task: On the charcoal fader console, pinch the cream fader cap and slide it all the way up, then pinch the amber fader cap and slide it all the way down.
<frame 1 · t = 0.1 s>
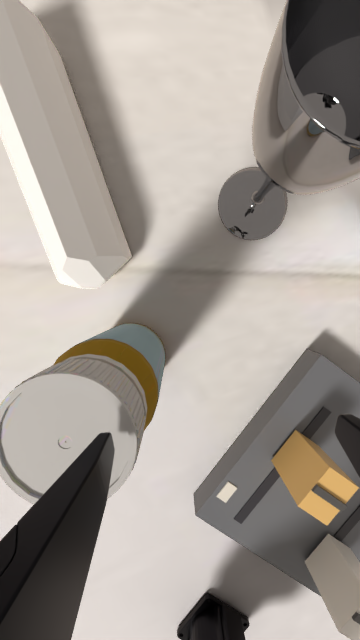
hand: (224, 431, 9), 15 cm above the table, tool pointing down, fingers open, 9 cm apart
crystal: (66, 177, 23), on the table
wine glass: (252, 205, 23), on the table
fader b: (310, 473, 20), point 5 cm above the table, slide at 8.0 cm
bottle: (133, 354, 24), on the table
fader a: (345, 586, 21), point 5 cm above the table, slide at 1.0 cm
console: (310, 466, 26), on the table
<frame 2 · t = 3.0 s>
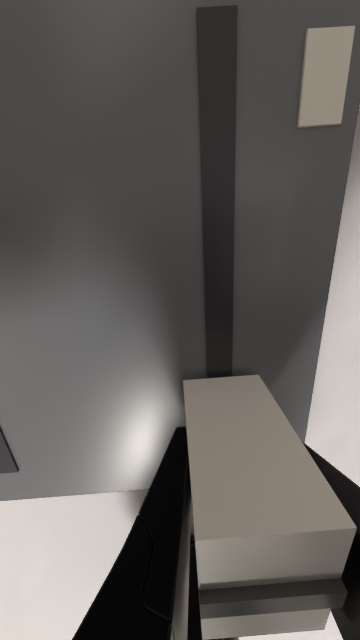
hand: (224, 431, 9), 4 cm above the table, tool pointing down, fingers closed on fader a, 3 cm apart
fader a: (238, 479, 7), point 5 cm above the table, slide at 1.0 cm, touching gripper
console: (97, 274, 10), on the table
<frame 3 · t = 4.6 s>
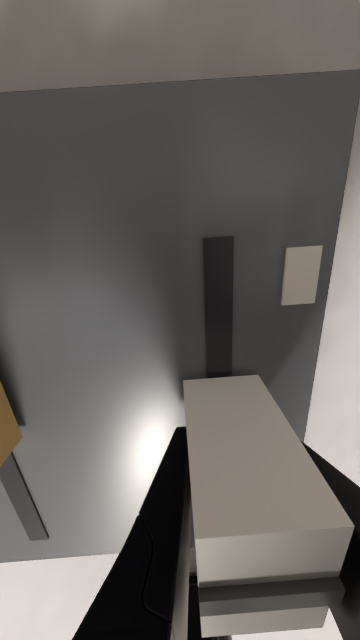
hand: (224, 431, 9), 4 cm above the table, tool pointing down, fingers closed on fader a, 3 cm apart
fader a: (237, 478, 7), point 5 cm above the table, slide at 6.3 cm, touching gripper
console: (116, 374, 12), on the table
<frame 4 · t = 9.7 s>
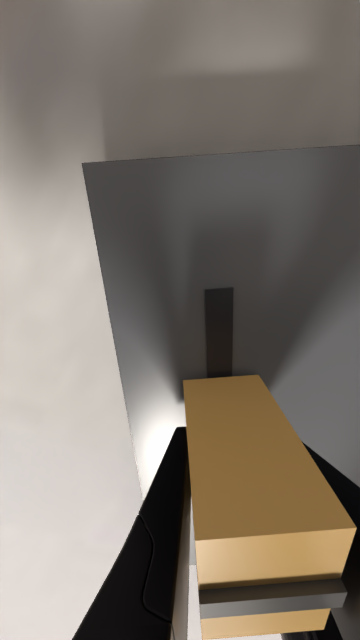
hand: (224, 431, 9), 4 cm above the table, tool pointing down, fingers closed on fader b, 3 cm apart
fader b: (237, 479, 7), point 5 cm above the table, slide at 8.0 cm, touching gripper
console: (299, 387, 13), on the table
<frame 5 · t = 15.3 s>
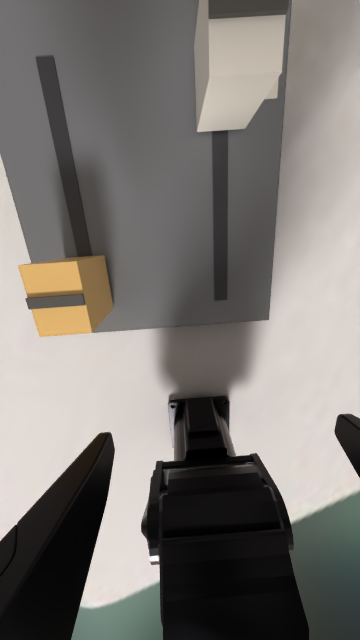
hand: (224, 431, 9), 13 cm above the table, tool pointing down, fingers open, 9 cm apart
fader b: (75, 291, 14), point 5 cm above the table, slide at 0.6 cm
fader a: (231, 54, 11), point 5 cm above the table, slide at 11.5 cm
console: (149, 190, 17), on the table
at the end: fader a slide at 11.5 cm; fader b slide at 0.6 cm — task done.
